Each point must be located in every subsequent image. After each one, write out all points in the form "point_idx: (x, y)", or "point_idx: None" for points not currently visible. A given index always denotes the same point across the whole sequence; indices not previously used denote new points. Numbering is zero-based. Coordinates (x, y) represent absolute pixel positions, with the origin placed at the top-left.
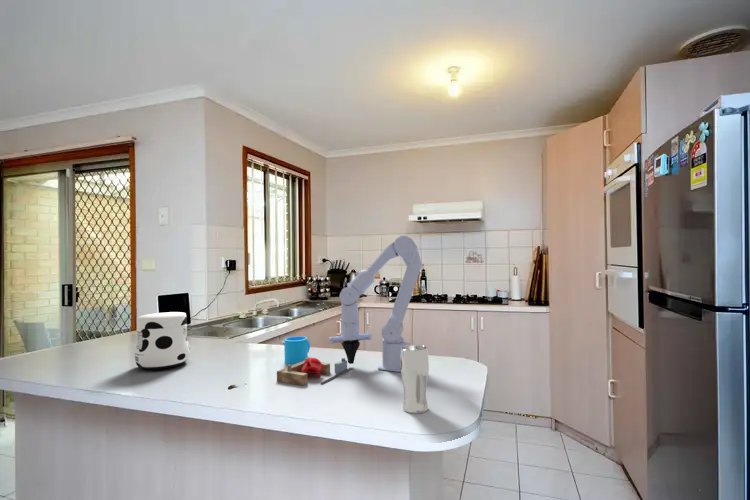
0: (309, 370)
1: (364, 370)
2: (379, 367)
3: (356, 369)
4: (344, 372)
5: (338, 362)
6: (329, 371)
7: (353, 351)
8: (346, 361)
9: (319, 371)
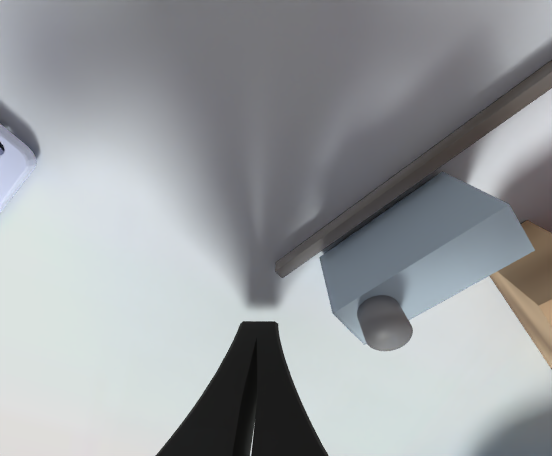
0: None
1: (175, 191)
2: (8, 166)
3: (237, 247)
4: (376, 191)
5: (459, 282)
6: None
7: (226, 430)
8: (342, 300)
9: None
